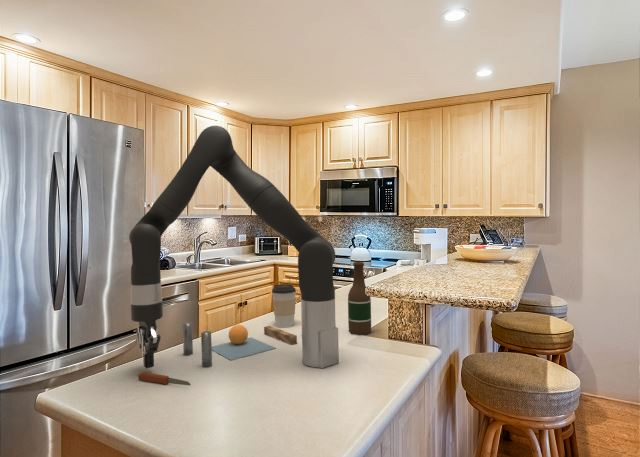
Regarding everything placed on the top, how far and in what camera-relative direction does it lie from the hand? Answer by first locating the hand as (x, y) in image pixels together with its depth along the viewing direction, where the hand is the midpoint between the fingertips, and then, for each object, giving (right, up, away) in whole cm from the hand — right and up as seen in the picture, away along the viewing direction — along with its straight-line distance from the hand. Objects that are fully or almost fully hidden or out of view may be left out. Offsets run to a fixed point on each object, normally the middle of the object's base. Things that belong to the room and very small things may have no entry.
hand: (148, 367), depth 102 cm
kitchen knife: (+7, -2, -8) cm, 11 cm away
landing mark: (+21, 0, +17) cm, 27 cm away
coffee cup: (+32, 0, +43) cm, 54 cm away
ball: (+19, +3, +22) cm, 29 cm away
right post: (+14, -1, +3) cm, 15 cm away
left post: (+6, -1, +13) cm, 15 cm away
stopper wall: (+31, 0, +26) cm, 41 cm away
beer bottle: (+58, 0, +32) cm, 66 cm away
